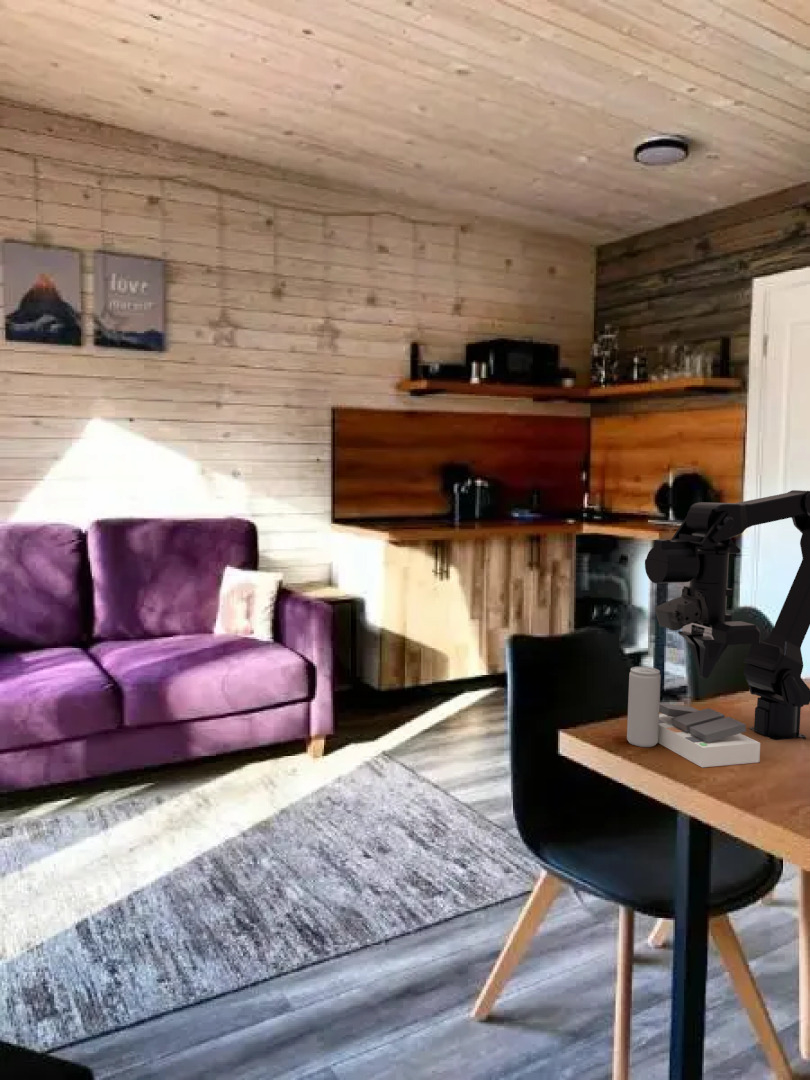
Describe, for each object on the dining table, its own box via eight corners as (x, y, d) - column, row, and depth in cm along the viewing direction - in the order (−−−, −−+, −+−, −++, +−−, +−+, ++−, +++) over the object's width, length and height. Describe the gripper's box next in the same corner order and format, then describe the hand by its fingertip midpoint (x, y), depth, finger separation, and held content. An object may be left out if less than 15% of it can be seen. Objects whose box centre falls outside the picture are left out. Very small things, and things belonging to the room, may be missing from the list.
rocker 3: (729, 723, 134) (728, 716, 134) (746, 731, 130) (745, 724, 130) (690, 734, 132) (689, 727, 132) (706, 742, 128) (705, 735, 128)
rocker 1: (690, 713, 143) (691, 706, 143) (704, 720, 140) (706, 713, 140) (654, 709, 141) (655, 702, 141) (667, 716, 138) (669, 708, 138)
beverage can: (659, 749, 134) (662, 674, 134) (627, 747, 135) (630, 672, 134) (656, 740, 139) (659, 667, 138) (625, 737, 140) (628, 665, 139)
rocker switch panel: (692, 728, 146) (693, 710, 145) (759, 762, 129) (760, 741, 129) (640, 732, 143) (641, 714, 143) (701, 767, 127) (702, 746, 126)
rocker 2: (709, 715, 139) (709, 707, 138) (725, 722, 135) (724, 714, 135) (672, 725, 137) (671, 718, 137) (686, 732, 133) (685, 725, 133)
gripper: (632, 575, 143) (628, 667, 144) (702, 591, 125) (697, 695, 127) (688, 574, 146) (685, 663, 148) (765, 589, 129) (759, 690, 130)
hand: (703, 677), depth 138 cm, fingers closed
